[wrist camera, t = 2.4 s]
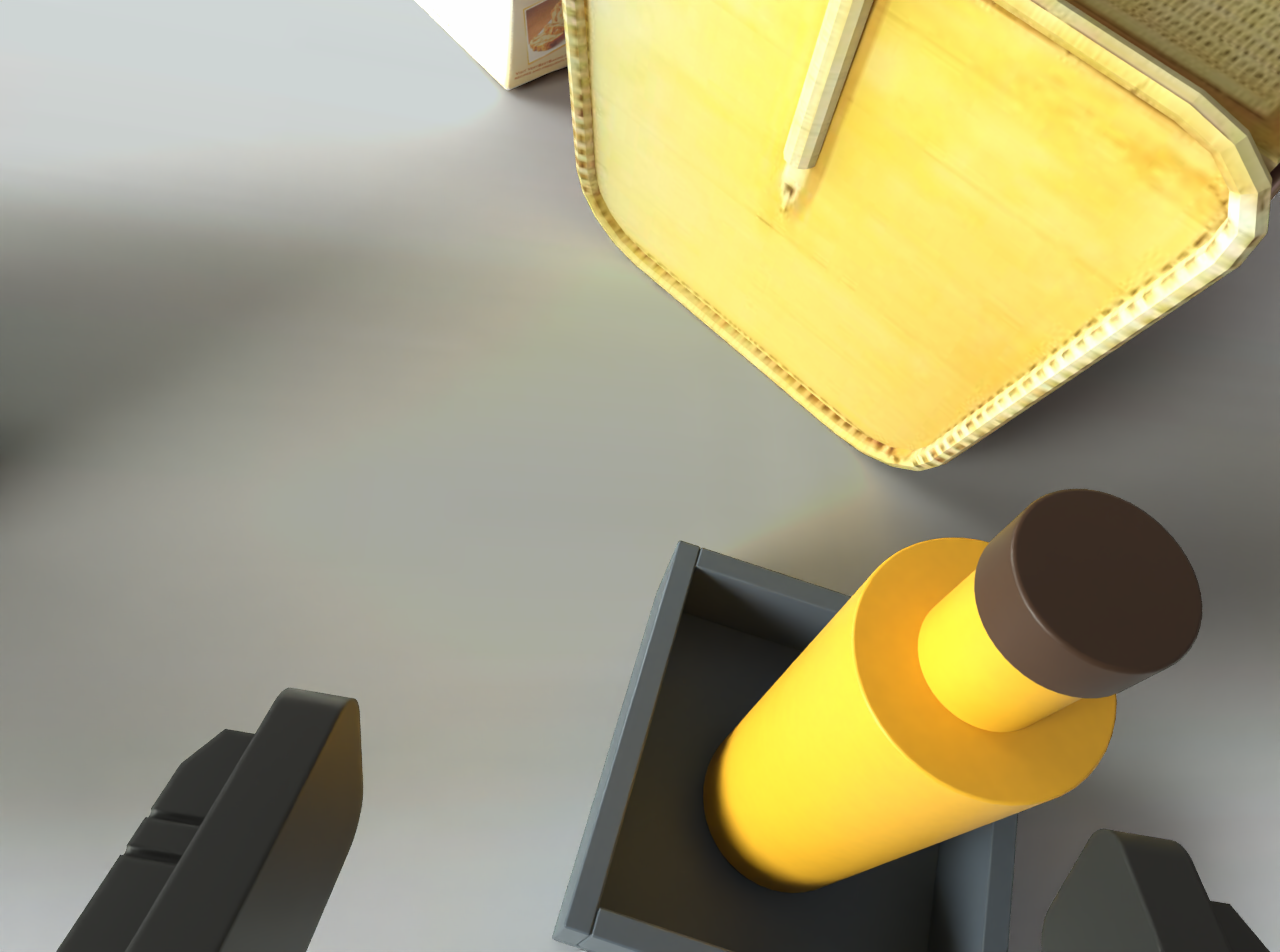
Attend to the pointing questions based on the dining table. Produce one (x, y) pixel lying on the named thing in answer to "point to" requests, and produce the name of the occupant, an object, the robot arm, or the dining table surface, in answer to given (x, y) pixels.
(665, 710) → the tub
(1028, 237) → the picnic basket
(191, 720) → the dining table surface
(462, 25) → the coffeecake box
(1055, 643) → the bottle
